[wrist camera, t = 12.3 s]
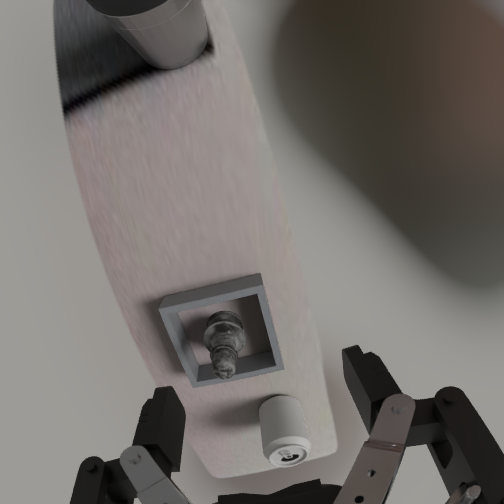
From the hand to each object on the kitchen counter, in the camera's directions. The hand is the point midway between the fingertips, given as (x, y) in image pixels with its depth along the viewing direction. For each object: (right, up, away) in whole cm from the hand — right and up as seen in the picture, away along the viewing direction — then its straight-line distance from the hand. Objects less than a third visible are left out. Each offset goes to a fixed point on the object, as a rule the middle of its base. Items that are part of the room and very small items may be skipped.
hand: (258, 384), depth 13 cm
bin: (-4, -5, +31) cm, 32 cm away
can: (+5, -22, +37) cm, 43 cm away
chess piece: (-4, -5, +32) cm, 32 cm away
